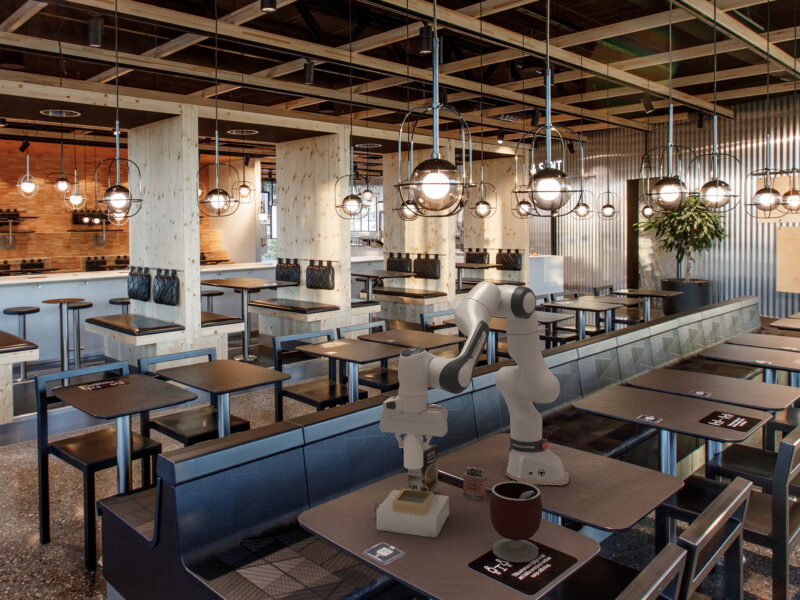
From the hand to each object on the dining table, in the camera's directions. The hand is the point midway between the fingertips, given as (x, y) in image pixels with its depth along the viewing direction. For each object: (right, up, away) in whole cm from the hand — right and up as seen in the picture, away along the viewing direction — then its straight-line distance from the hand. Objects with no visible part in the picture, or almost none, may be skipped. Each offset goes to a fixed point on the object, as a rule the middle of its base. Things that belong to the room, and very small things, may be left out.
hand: (413, 448), depth 191 cm
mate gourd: (+28, -25, -17) cm, 41 cm away
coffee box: (+4, -21, +24) cm, 32 cm away
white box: (-1, -23, +2) cm, 23 cm away
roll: (0, -6, +1) cm, 6 cm away
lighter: (+21, -21, +21) cm, 36 cm away
